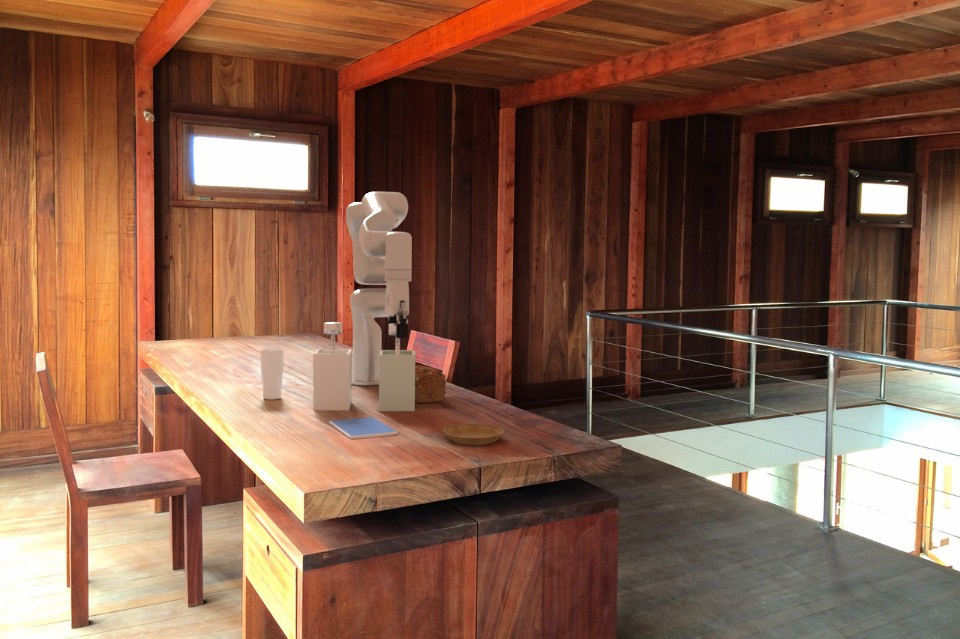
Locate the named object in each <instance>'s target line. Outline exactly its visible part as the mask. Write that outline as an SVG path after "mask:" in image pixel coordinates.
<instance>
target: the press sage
mask: <svg viewBox="0 0 960 639" xmlns="http://www.w3.org/2000/svg"><path fill="white" fill-rule="evenodd" d="M415 365H416V350H413V349H411V350H410V349H409V350H408V349H407V350H406V349H401V350H400V355H395V349H381V350H380V354H379V385H378V389H379V390H378V391H379V392H378V412H415V411H416V410H415V409H416V408H415V406H416V405H415Z"/></svg>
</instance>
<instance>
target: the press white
mask: <svg viewBox="0 0 960 639" xmlns="http://www.w3.org/2000/svg"><path fill="white" fill-rule="evenodd" d="M312 370H313V372H312V373H313V374H312V376H313V377H312V380H313V382H312V385H313V386H312V387H313V388H312V389H313V390H312V391H313V392H312V393H313V394H312V396H313V398H312V400H313V401H312V402H313V404H312V406H313V407H312V408H313V411H350V409H351V406H352V401H353V400H352V399H353V397H352V396H353V394H352V393H353V391H352V388H353V384H352V377H353V348H347V349H346V348H344V349H343V348H342V349H341V348H340V349H339V348H335V354H331V348H316V350H315V351H314V353H313V355H312Z"/></svg>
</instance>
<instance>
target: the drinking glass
mask: <svg viewBox="0 0 960 639" xmlns="http://www.w3.org/2000/svg"><path fill="white" fill-rule="evenodd" d="M284 355H285V354H284V348H282V347H263V348H261V349H260V354H259V356H260V357H259V359H260V360H259V361H260V371H261V381H262V382H261V384H262V397H263V399H264V400H267V401H269V400H271V401H272V400H273V401H274V400H279V399H281V398H282V387H283V376H284V374H283V373H284V365H285V364H284V363H285V362H284V358H285V357H284Z"/></svg>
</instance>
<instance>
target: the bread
mask: <svg viewBox="0 0 960 639" xmlns="http://www.w3.org/2000/svg"><path fill="white" fill-rule="evenodd" d="M446 387H447V381H446V375H445V374H443V372H442V371H440V370H439V369H437V368H433V367H431V366H425V365H421V364H419V365H418V364H415V403H416V404H427V403H441V402H443V401H444V400H445V395H446V390H447V388H446Z"/></svg>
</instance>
